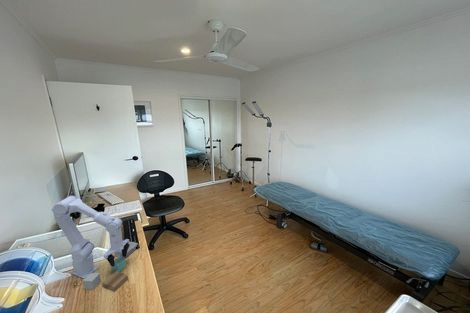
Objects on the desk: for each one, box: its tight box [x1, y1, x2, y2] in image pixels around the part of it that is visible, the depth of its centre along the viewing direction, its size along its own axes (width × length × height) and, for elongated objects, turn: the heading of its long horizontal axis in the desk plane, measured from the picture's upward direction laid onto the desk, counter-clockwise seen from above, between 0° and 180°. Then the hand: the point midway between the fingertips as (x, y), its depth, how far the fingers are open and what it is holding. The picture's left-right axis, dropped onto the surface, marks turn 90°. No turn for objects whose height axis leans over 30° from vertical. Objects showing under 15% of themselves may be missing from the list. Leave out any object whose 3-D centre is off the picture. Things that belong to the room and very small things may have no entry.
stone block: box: [114, 241, 139, 259], centre depth 122 cm, size 12×5×10 cm
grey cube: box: [82, 272, 102, 290], centre depth 96 cm, size 5×5×5 cm
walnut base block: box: [101, 271, 129, 292], centre depth 98 cm, size 8×8×3 cm
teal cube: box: [111, 257, 127, 272], centre depth 108 cm, size 5×5×5 cm
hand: (118, 260), depth 107 cm, fingers open, 7 cm apart
